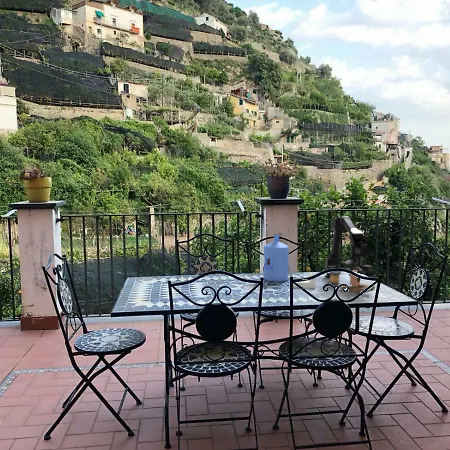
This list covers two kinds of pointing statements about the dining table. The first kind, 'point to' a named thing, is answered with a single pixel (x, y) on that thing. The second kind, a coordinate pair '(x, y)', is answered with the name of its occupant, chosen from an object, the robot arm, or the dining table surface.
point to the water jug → (276, 261)
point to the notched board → (357, 288)
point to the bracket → (308, 283)
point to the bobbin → (334, 278)
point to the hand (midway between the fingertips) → (355, 281)
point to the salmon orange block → (354, 280)
